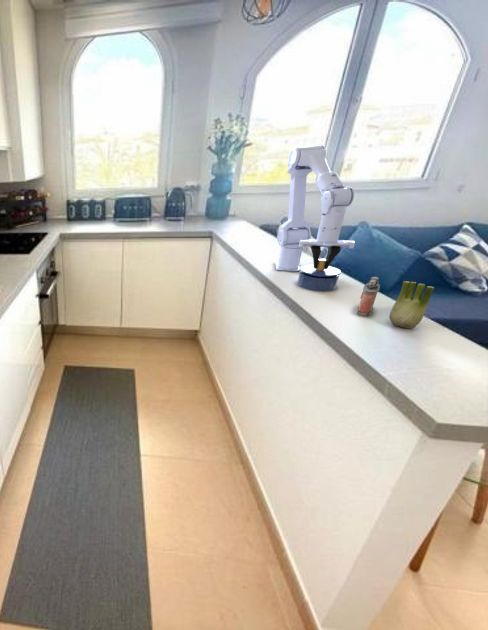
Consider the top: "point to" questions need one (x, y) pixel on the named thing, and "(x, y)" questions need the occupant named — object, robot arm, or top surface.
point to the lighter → (368, 297)
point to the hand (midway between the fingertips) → (320, 268)
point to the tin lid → (320, 270)
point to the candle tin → (317, 282)
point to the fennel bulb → (410, 305)
